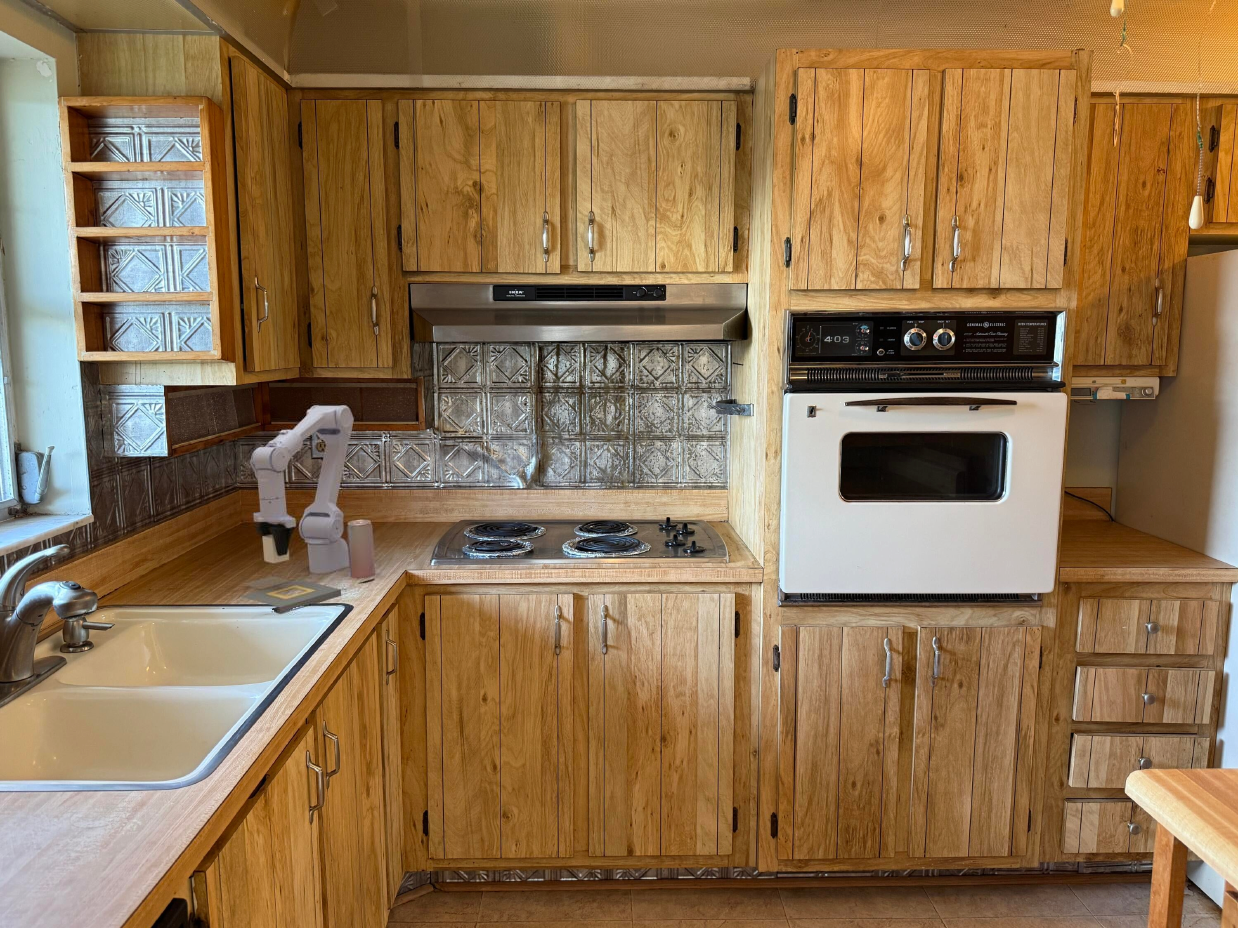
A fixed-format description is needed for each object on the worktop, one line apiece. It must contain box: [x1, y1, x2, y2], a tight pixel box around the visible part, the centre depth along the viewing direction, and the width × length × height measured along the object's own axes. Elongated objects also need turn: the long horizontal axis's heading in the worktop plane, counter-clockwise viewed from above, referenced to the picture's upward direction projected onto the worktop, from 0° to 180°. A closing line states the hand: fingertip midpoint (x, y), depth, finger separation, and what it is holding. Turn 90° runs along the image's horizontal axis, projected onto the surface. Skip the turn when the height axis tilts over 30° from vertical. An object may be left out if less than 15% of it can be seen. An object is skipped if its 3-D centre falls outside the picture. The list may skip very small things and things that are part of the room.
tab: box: [243, 576, 291, 590], centre depth 213 cm, size 8×8×2 cm
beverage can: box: [346, 519, 376, 585], centre depth 217 cm, size 6×6×15 cm
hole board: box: [240, 579, 342, 615], centre depth 204 cm, size 16×16×2 cm
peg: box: [261, 534, 290, 564], centre depth 206 cm, size 4×4×6 cm
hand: (277, 553), depth 206 cm, fingers closed on peg, 4 cm apart
